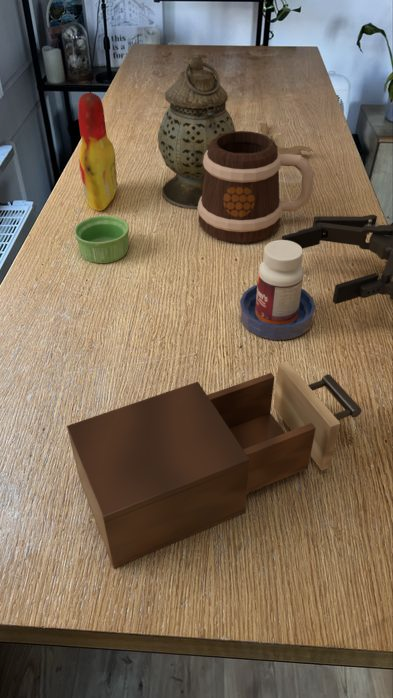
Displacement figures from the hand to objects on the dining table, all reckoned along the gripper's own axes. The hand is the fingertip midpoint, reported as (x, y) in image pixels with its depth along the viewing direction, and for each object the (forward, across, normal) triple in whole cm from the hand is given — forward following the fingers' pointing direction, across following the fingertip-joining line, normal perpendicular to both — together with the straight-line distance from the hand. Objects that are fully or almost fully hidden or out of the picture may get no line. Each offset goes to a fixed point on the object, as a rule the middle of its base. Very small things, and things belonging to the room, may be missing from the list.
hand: (307, 268), depth 83 cm
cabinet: (+31, +21, +7) cm, 38 cm away
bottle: (+16, -45, +7) cm, 49 cm away
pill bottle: (+4, 0, +7) cm, 8 cm away
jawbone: (-29, -53, +7) cm, 61 cm away
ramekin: (+22, -28, +7) cm, 36 cm away
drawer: (+17, +21, +6) cm, 28 cm away
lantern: (-1, -40, +7) cm, 41 cm away
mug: (-6, -25, +7) cm, 27 cm away
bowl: (+4, 0, +7) cm, 8 cm away
